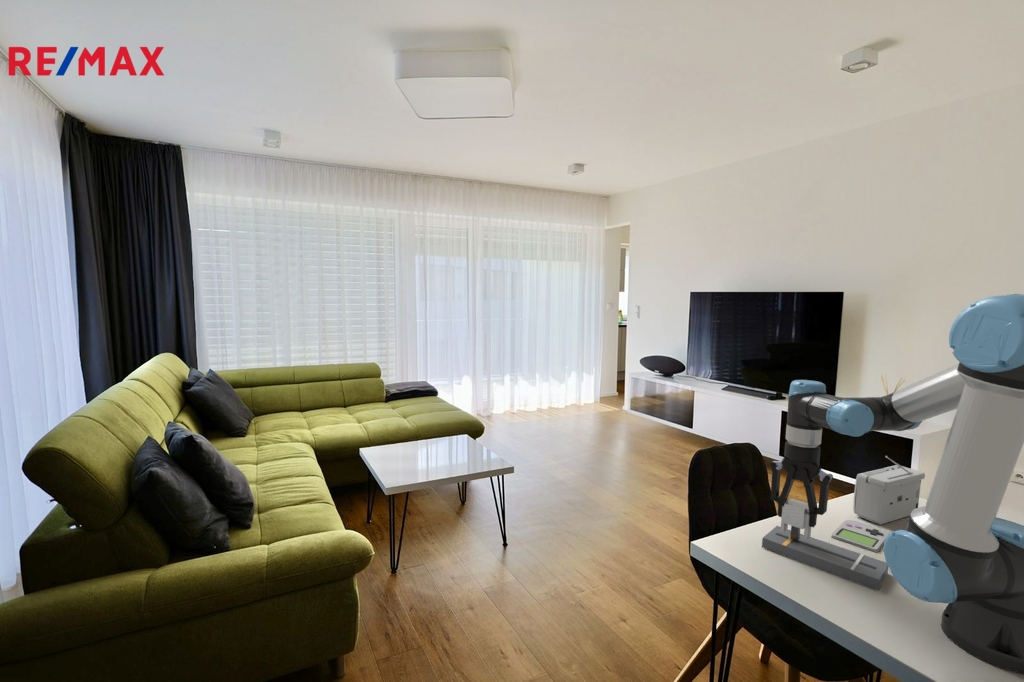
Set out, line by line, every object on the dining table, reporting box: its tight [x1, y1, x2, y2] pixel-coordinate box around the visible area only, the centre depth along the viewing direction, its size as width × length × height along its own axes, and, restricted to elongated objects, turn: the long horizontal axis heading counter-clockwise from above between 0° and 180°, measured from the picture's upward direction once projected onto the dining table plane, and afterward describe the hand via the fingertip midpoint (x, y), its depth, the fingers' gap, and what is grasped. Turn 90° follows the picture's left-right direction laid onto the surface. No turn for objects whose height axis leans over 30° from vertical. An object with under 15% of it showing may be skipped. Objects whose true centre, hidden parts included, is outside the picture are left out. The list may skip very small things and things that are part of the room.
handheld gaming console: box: [831, 519, 891, 553], centre depth 131 cm, size 10×2×15 cm
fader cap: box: [783, 497, 809, 541], centre depth 122 cm, size 4×5×9 cm
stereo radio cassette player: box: [852, 455, 926, 526], centre depth 143 cm, size 21×8×20 cm, turn 115°
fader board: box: [761, 525, 889, 591], centre depth 118 cm, size 24×10×3 cm, turn 43°
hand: (795, 533), depth 122 cm, fingers closed on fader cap, 4 cm apart
